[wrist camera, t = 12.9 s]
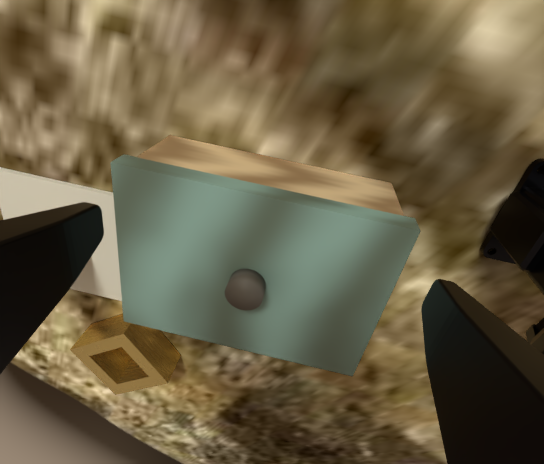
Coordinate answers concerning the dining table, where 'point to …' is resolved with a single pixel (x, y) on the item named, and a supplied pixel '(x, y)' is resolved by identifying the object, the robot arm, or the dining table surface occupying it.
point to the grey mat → (53, 194)
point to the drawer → (257, 251)
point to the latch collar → (126, 354)
